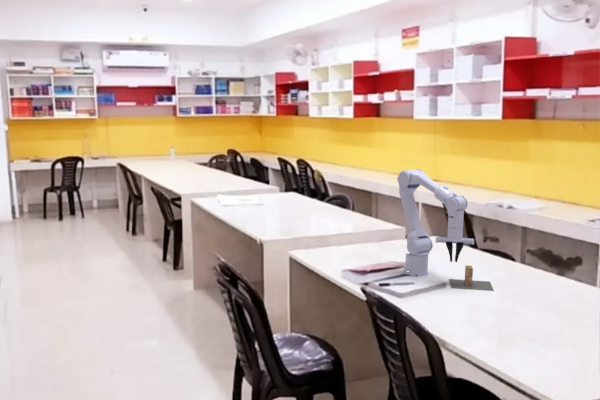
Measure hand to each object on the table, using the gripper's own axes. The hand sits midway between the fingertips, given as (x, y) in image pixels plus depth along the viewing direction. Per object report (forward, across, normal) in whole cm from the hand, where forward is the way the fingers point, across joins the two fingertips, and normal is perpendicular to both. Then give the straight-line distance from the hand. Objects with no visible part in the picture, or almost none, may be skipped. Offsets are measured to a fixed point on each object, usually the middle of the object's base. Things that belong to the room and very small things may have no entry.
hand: (453, 261), depth 238 cm
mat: (+9, +7, 0) cm, 12 cm away
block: (+9, +6, 0) cm, 11 cm away
